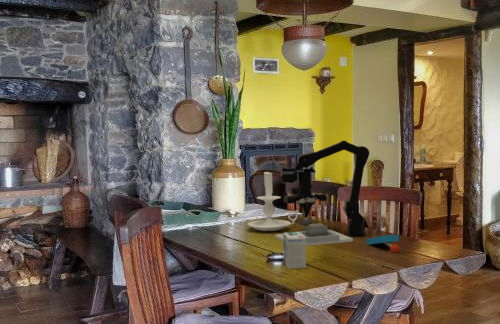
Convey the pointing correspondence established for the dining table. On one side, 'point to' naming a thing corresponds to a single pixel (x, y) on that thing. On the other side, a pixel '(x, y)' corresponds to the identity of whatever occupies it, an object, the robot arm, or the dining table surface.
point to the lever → (385, 241)
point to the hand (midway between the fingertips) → (305, 217)
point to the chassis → (322, 238)
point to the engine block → (316, 230)
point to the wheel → (305, 221)
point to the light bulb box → (294, 250)
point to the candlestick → (270, 210)
